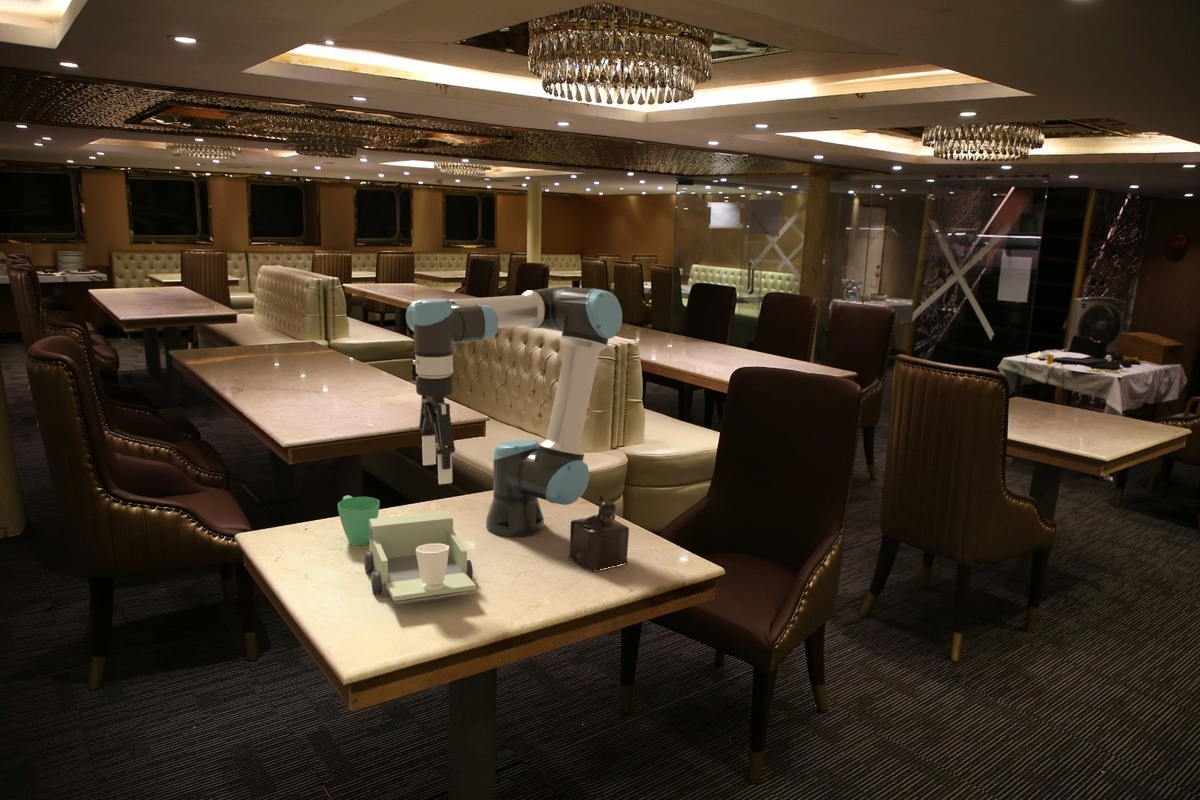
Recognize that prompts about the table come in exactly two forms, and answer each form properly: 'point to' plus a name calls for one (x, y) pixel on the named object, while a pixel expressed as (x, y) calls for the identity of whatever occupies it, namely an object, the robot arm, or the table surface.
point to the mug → (357, 517)
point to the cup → (432, 564)
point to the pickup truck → (410, 547)
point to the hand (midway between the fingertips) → (437, 473)
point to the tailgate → (415, 590)
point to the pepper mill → (599, 539)
